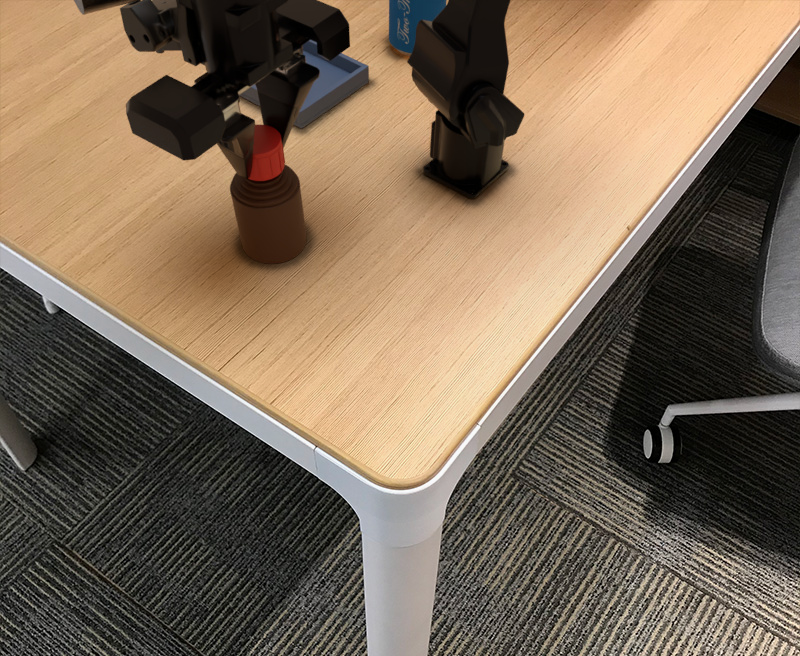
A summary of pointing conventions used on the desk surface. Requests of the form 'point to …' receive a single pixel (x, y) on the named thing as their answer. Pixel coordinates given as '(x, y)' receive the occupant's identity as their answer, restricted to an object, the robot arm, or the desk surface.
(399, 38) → the beverage can
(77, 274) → the desk surface
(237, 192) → the bottle
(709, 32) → the desk surface
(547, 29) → the desk surface
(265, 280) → the desk surface
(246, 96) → the tray
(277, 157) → the cap
